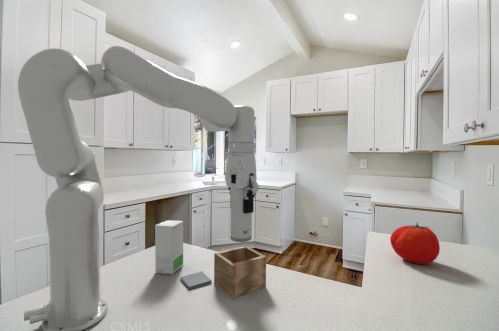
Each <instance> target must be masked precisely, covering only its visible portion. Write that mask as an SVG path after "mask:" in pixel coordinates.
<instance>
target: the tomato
mask: <svg viewBox="0 0 499 331" xmlns="http://www.w3.org/2000/svg"><path fill="white" fill-rule="evenodd" d="M389 241H390V246H391V248H392V249H393V251H394V252H395V253H396V254H397V256H398V257H400V258H402V259H403V260H405V261H408V262H409V263H414V264H416V265H418V264H419V265H422V264H423V265H425V264H426V265H427V264H431V263H432V262H434V261H435V260H436V259H437V258H438V256H439V255H440V249H441V247H440V241H439V239H438V237H437V234H435V233H434V231H433V230H432V229H431V228H430V227H428V226H419V223H418V222H417V223H416V224H414V225H403V226H400V227H397V228H396V229H395V230H393V232H392V233H391V235H390V238H389Z"/></svg>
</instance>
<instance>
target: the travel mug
mask: <svg viewBox="0 0 499 331" xmlns="http://www.w3.org/2000/svg"><path fill="white" fill-rule="evenodd" d="M236 179H237V178H236V175H231V208H230V240H231V241H233V242H237V243H246V242H249V241H251V240H252V236H253V235H252V233H253V232H252V229H253V228H252V227H253V225H252V224H253V212H252V213H246V214H245V213H243V199H245V198H244V193H243V190H240V189H237V188H236V181H235V180H236ZM247 188H250V186H247ZM249 191H250V190H248V191H247V193H249Z"/></svg>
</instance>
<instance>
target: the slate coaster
mask: <svg viewBox="0 0 499 331" xmlns="http://www.w3.org/2000/svg"><path fill="white" fill-rule="evenodd" d="M180 281H181V282H182V283H183V285H185V286H186V288H187V289H188V290H193V289H196V288H199V287H203V286H207V285H209V284H211V283H212V279H211V278H210V277H209V276H208V275H207V274H205V273H204V272H203V271H198V272H194V273H190V274H187V275H184V276H180Z"/></svg>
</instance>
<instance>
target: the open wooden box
mask: <svg viewBox="0 0 499 331" xmlns="http://www.w3.org/2000/svg"><path fill="white" fill-rule="evenodd" d="M213 254H214V257H213V258H214V260H213V261H214V265H213V271H214V272H213V284H215V285H216V286H217V287H218V288H219V289H220V290H221V291H223V292H224V293H225V294H226V295H227V296H228V297H229V298H231V299H235V298H238V297H241V296H244V295H247V294H250V293H253V292H255V291H259V290H261V289H264V288H266V287H267V284H266V283H267V282H266V281H267V255H264V254H262V253H261V252H259V251H257V250H255V249H253V248H252V247H249V246H247V245H243V246H239V247H235V248H230V249H227V250H220V251H217V252H214V253H213Z"/></svg>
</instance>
